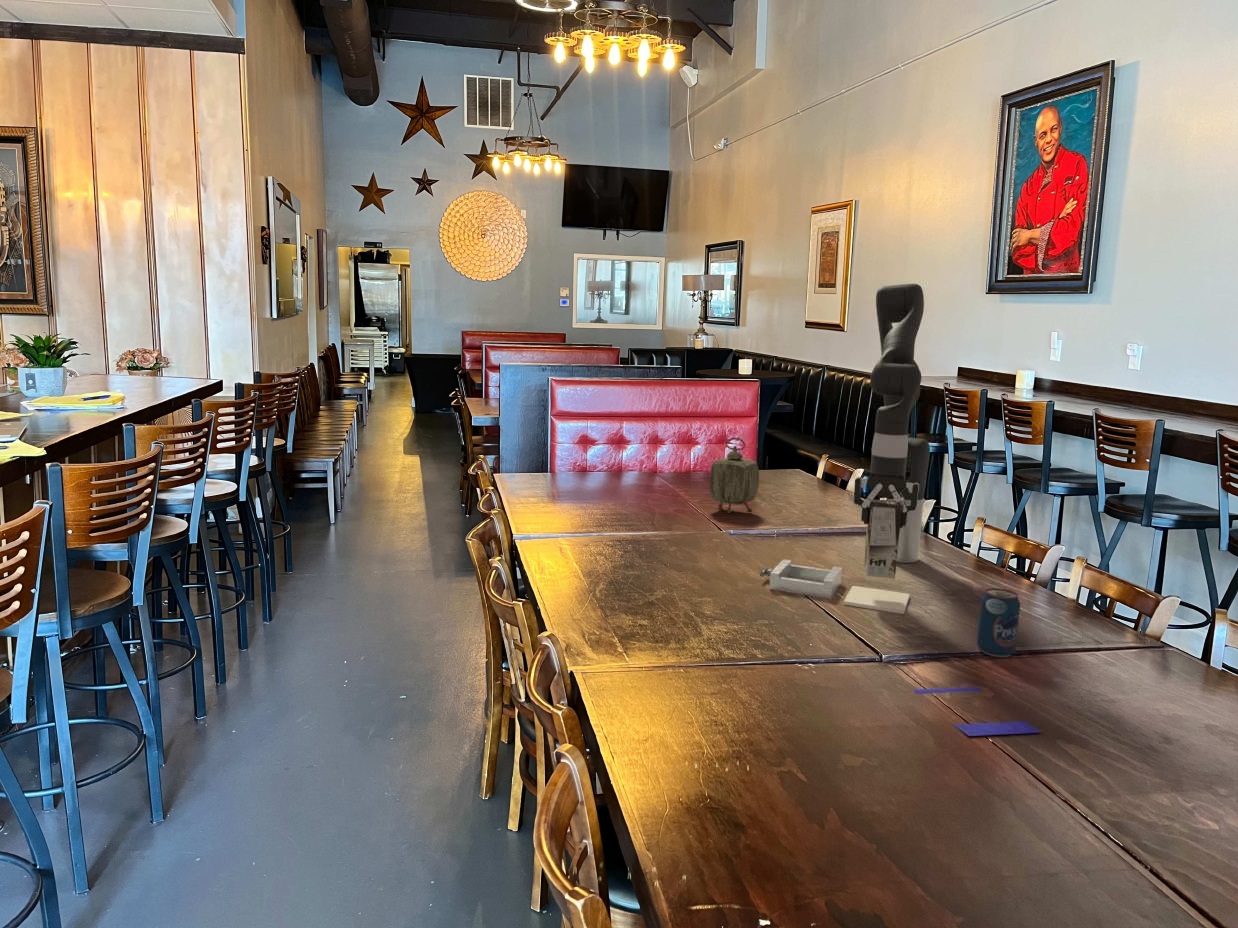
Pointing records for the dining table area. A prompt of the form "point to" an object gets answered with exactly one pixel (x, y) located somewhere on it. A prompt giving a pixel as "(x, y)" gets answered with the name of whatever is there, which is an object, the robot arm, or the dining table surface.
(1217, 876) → the dining table surface
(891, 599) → the pad
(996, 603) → the soda can
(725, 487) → the tabletop clock
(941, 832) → the dining table surface
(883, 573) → the coffee box
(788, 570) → the grey drawer
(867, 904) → the dining table surface
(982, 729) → the blue strips
